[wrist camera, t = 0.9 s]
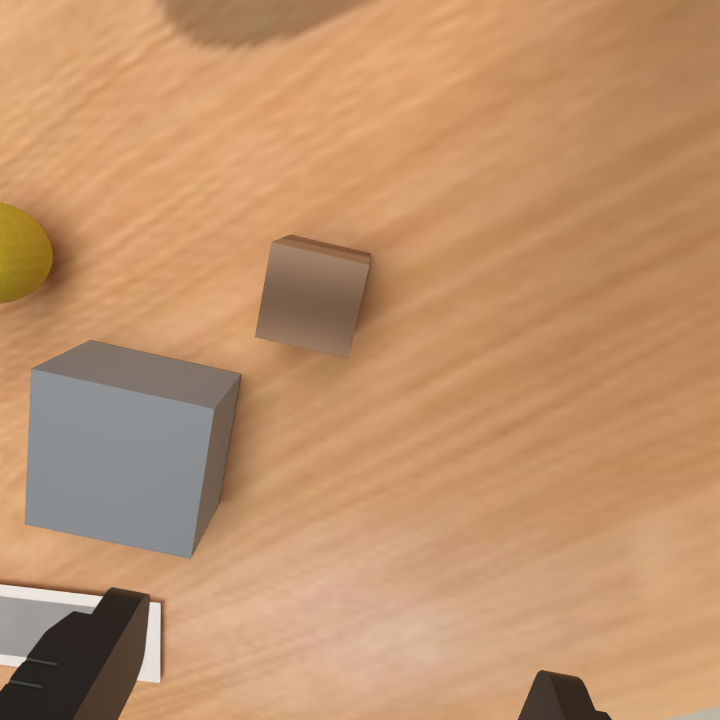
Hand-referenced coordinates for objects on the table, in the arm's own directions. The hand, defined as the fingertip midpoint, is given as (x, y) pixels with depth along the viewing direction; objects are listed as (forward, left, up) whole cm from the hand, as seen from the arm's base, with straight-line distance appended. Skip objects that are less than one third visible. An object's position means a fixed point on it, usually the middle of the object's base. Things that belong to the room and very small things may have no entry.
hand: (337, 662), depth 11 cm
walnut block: (-3, -3, -24) cm, 24 cm away
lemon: (-2, -21, -24) cm, 32 cm away
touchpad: (+28, -17, -25) cm, 41 cm away
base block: (+9, -12, -24) cm, 28 cm away
